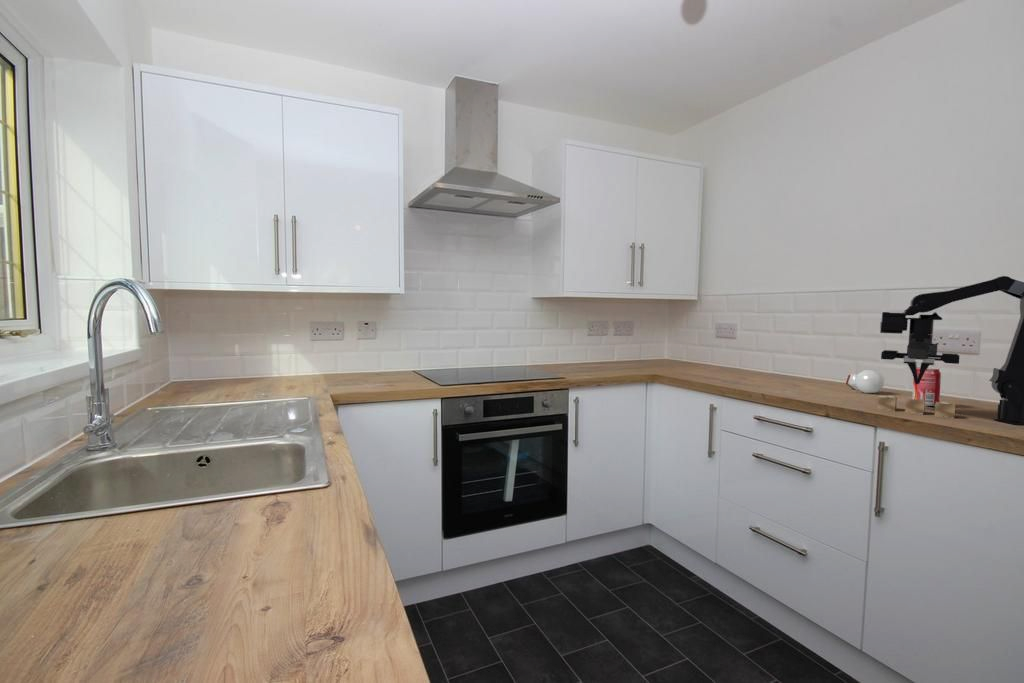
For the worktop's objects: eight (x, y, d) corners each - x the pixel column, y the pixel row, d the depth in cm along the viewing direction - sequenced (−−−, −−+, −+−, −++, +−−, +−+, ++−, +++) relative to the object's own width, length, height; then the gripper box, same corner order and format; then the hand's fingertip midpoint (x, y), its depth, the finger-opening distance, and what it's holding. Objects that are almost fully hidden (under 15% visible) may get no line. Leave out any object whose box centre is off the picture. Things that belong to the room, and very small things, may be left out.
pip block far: (896, 409, 161) (897, 396, 161) (894, 411, 158) (895, 398, 158) (879, 407, 164) (879, 394, 164) (877, 409, 161) (878, 396, 161)
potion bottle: (874, 399, 191) (850, 397, 206) (895, 384, 190) (870, 383, 205) (859, 378, 192) (836, 378, 206) (880, 364, 191) (856, 365, 206)
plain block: (924, 413, 157) (925, 400, 157) (923, 415, 153) (924, 402, 153) (906, 410, 160) (907, 398, 160) (905, 412, 156) (905, 400, 156)
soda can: (944, 408, 166) (946, 369, 165) (919, 406, 167) (922, 368, 166) (930, 404, 173) (933, 367, 172) (907, 403, 174) (909, 366, 173)
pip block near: (954, 416, 152) (955, 402, 152) (954, 418, 149) (955, 404, 148) (935, 414, 155) (936, 400, 155) (934, 416, 152) (935, 402, 151)
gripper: (880, 333, 155) (877, 383, 156) (961, 336, 143) (957, 390, 144) (884, 333, 164) (881, 380, 165) (961, 335, 151) (957, 386, 152)
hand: (917, 384), depth 156 cm, fingers closed
